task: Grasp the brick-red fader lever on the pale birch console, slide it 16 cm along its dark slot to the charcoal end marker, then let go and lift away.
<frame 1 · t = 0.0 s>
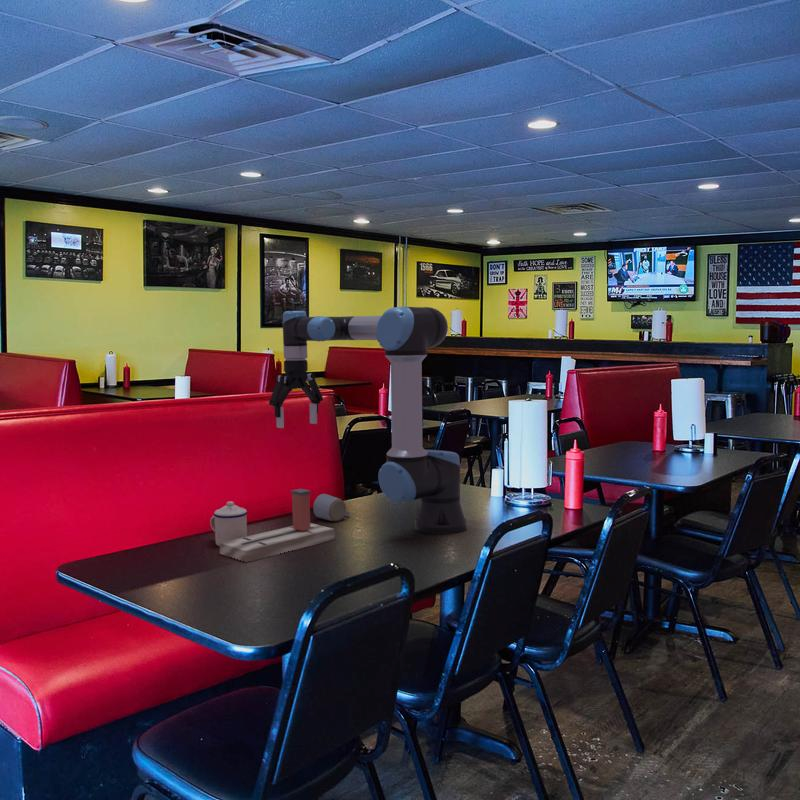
hand: (297, 425, 263), 28 cm above the table, fingers open, 13 cm apart
teacup with lid: (227, 543, 229), on the table
ceramic mug: (333, 519, 255), on the table
console: (279, 546, 224), on the table
fader tab: (301, 509, 229), point 9 cm above the table, slide at 0.0 cm
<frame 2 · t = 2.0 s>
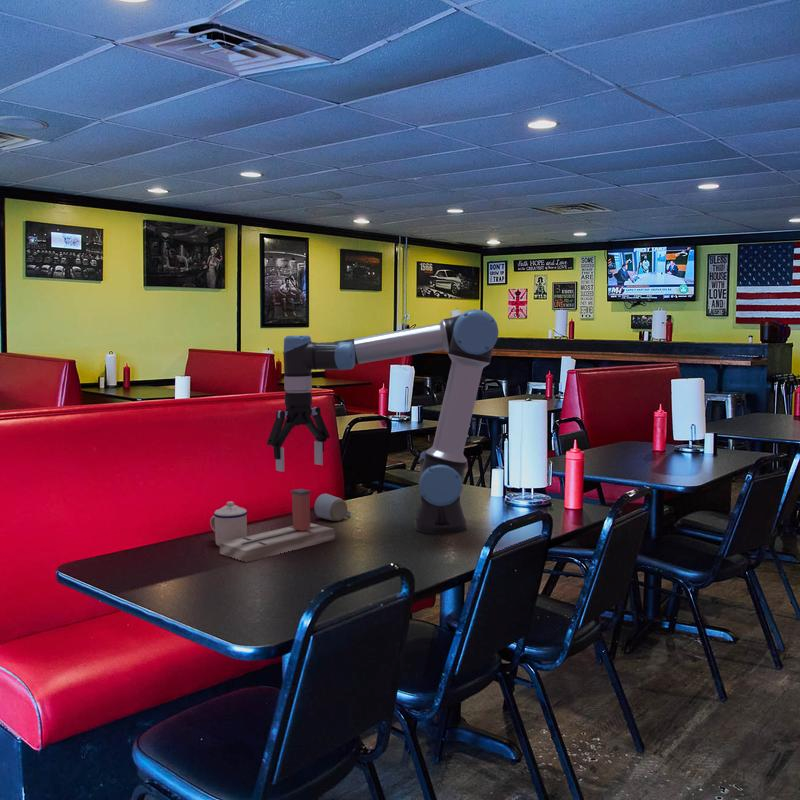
hand: (299, 467, 228), 21 cm above the table, fingers open, 13 cm apart
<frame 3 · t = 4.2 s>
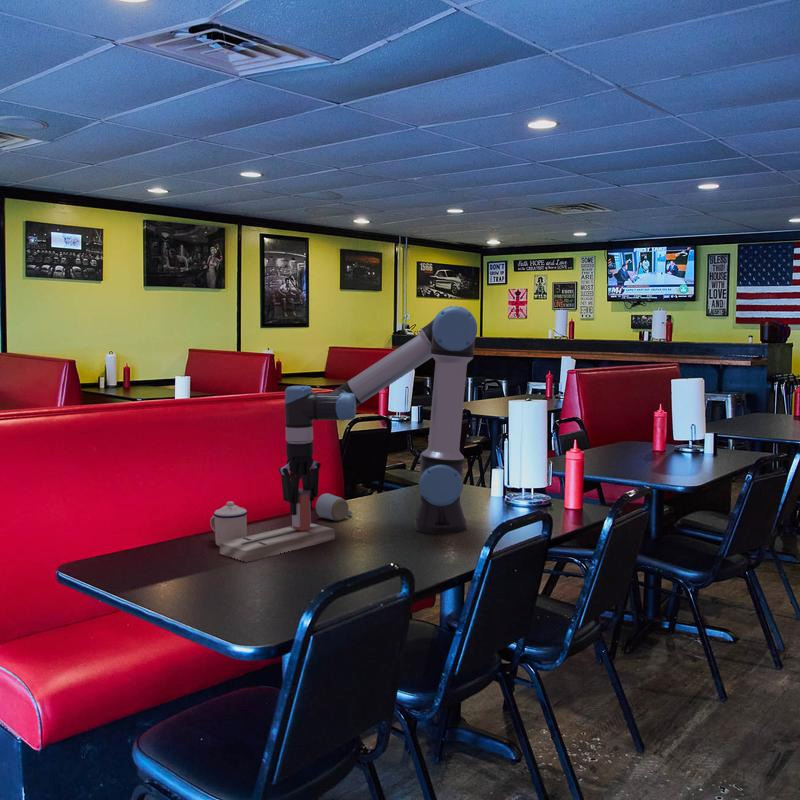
hand: (301, 524, 229), 5 cm above the table, fingers closed on fader tab, 3 cm apart
fader tab: (301, 509, 229), point 9 cm above the table, slide at 0.0 cm, touching gripper
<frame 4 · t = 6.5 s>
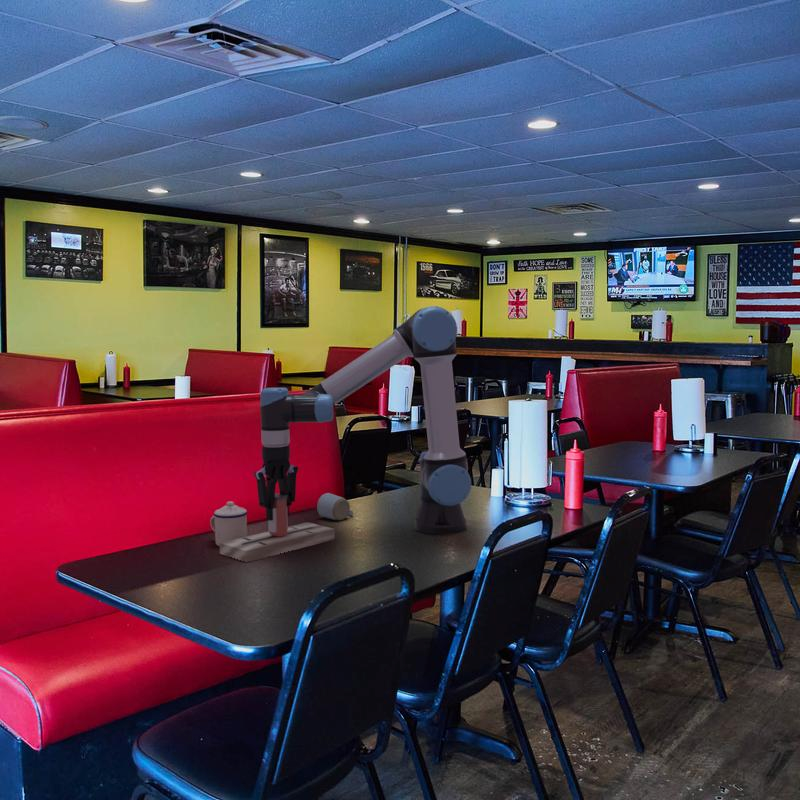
hand: (278, 530, 223), 5 cm above the table, fingers closed on fader tab, 3 cm apart
fader tab: (277, 514, 223), point 9 cm above the table, slide at 8.1 cm, touching gripper
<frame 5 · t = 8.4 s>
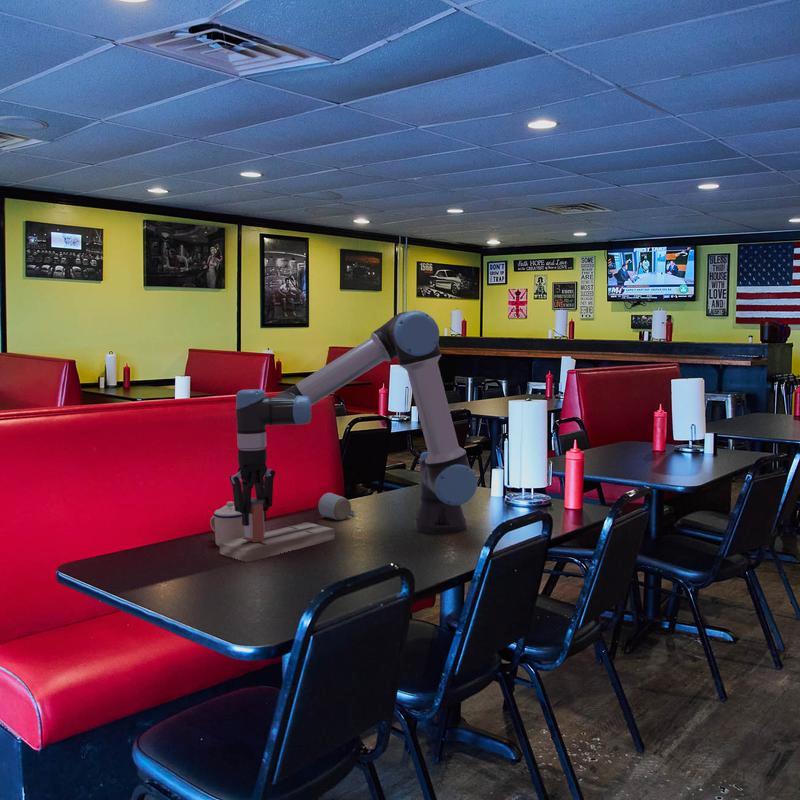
hand: (254, 535, 218), 5 cm above the table, fingers closed on fader tab, 3 cm apart
fader tab: (254, 520, 217), point 9 cm above the table, slide at 15.9 cm, touching gripper
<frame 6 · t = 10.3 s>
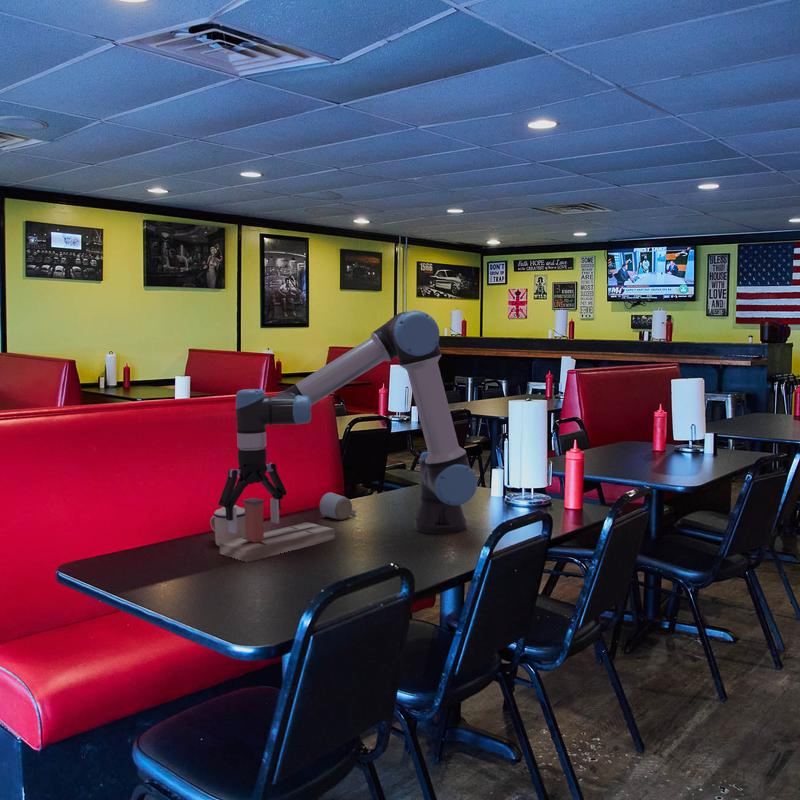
hand: (254, 527, 218), 7 cm above the table, fingers open, 13 cm apart
fader tab: (254, 520, 217), point 9 cm above the table, slide at 16.0 cm
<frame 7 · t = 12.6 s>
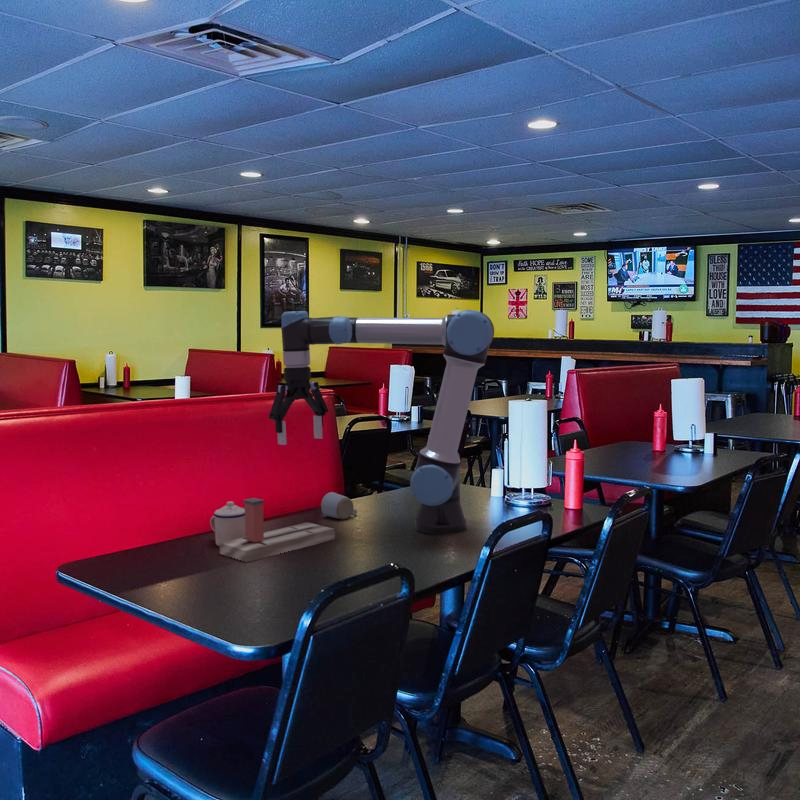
hand: (300, 441, 232), 27 cm above the table, fingers open, 13 cm apart
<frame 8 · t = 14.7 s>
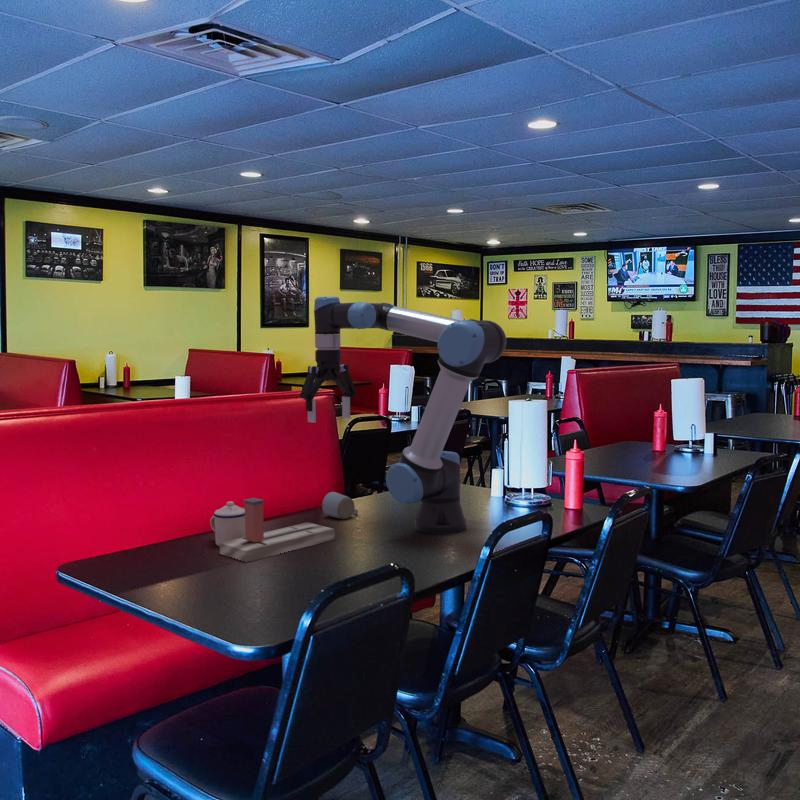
hand: (329, 420, 245), 32 cm above the table, fingers open, 13 cm apart
at the end: fader tab slide at 16.0 cm; the gripper is holding nothing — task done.
